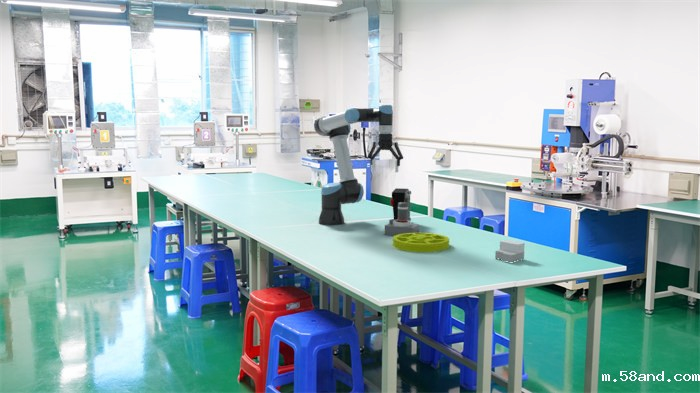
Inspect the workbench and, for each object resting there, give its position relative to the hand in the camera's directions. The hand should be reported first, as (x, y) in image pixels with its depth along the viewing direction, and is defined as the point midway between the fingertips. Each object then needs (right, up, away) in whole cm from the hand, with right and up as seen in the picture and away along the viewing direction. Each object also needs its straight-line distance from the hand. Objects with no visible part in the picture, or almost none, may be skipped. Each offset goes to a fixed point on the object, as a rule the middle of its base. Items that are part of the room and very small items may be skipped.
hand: (385, 171), depth 349 cm
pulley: (+16, -39, -36) cm, 55 cm away
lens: (+9, -29, -9) cm, 32 cm away
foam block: (+53, -44, -67) cm, 96 cm away
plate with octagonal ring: (+9, -34, -8) cm, 36 cm away
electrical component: (+10, -30, +21) cm, 38 cm away
